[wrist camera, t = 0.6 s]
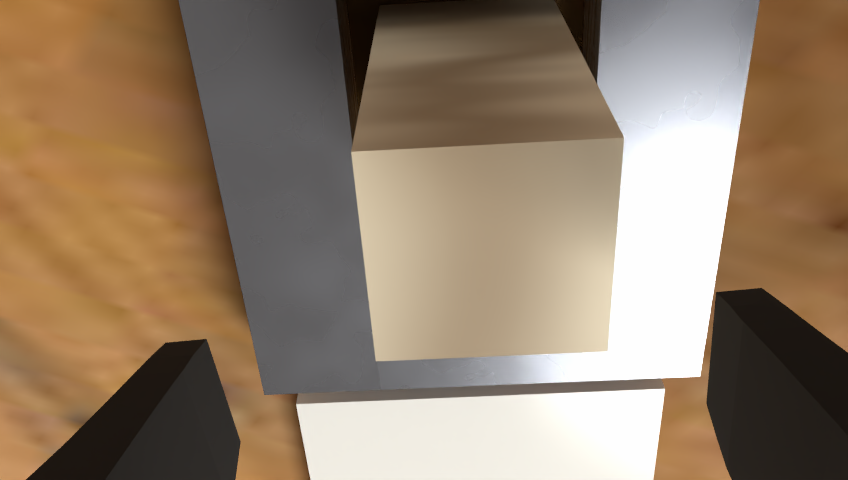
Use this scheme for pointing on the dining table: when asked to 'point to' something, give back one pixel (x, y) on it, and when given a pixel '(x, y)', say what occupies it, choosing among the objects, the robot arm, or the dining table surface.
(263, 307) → the hole plate
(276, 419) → the dining table surface
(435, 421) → the white tile
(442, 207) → the birch peg
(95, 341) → the dining table surface
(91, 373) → the dining table surface
